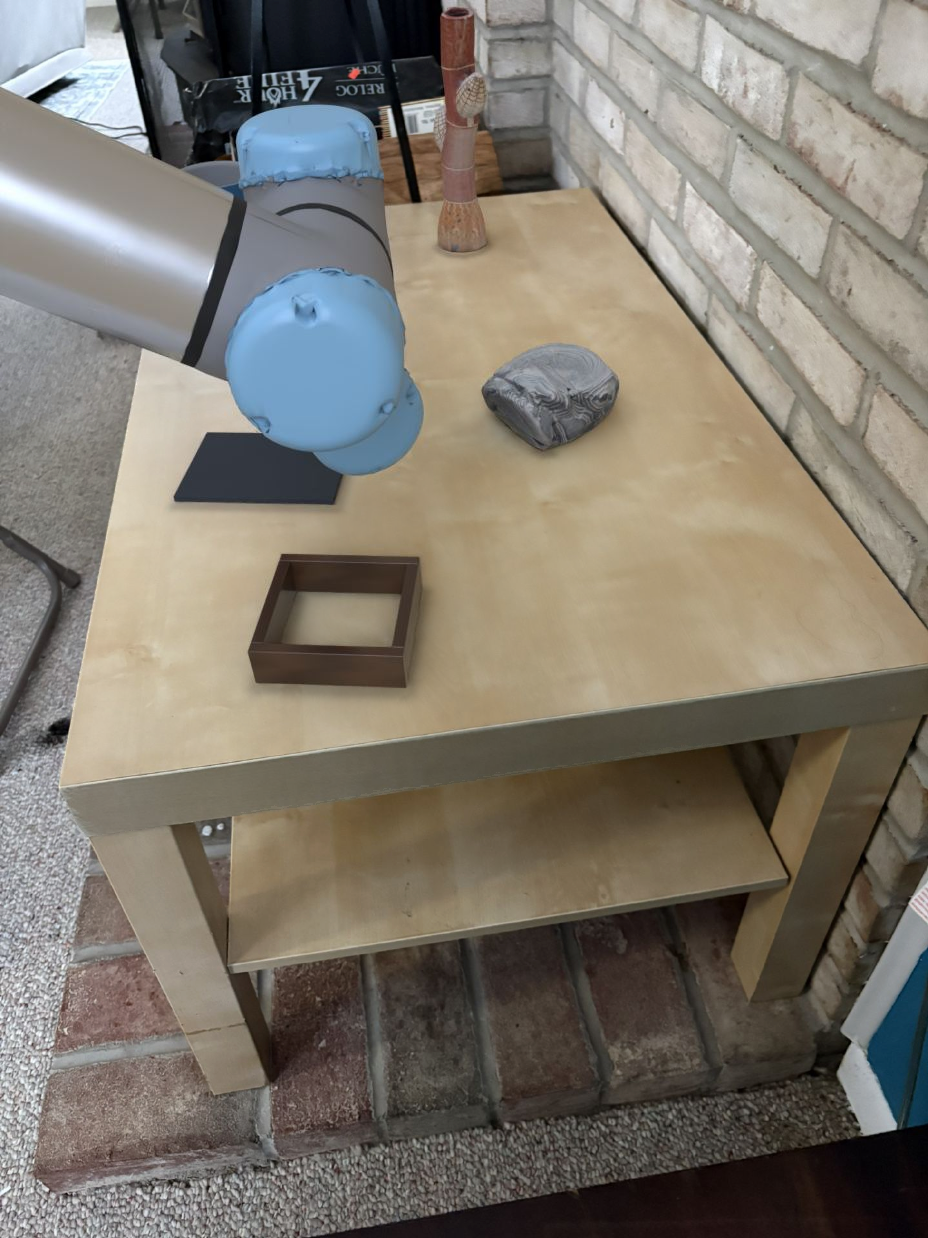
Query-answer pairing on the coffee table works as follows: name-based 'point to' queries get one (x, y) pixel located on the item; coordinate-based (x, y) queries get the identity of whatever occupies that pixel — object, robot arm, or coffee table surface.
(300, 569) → the cup holder
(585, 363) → the decorative stone
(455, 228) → the vase
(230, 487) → the mat
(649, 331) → the coffee table surface
